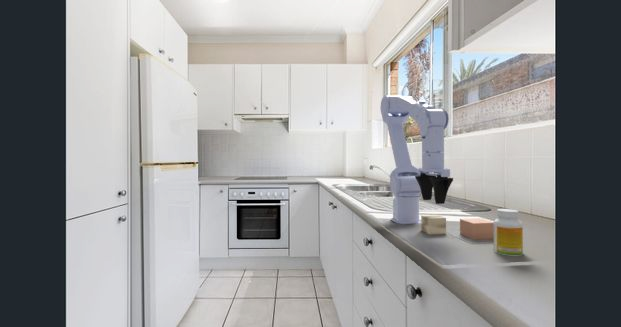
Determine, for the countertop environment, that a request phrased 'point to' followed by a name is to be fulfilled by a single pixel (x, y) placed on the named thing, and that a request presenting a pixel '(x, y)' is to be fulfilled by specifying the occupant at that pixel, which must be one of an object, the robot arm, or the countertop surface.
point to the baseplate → (472, 241)
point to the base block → (477, 228)
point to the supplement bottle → (508, 233)
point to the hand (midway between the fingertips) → (433, 201)
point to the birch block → (433, 224)
